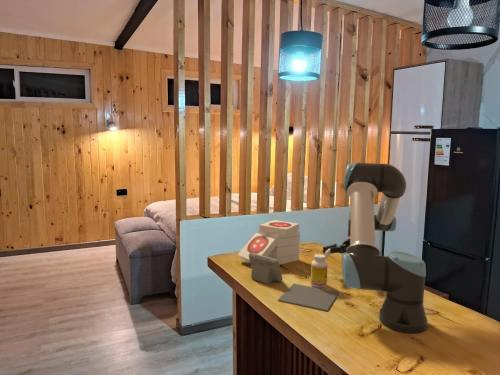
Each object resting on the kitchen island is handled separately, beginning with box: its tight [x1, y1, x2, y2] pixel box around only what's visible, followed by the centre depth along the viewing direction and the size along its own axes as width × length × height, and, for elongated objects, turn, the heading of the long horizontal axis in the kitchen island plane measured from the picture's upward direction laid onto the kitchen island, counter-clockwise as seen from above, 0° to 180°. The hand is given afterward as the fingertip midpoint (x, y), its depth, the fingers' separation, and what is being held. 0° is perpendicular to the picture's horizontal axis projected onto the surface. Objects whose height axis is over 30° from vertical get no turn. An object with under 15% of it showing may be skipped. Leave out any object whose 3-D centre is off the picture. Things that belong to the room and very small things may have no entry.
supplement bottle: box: [310, 253, 328, 289], centre depth 158 cm, size 7×7×13 cm
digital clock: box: [249, 253, 283, 285], centre depth 164 cm, size 16×9×11 cm, turn 39°
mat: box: [277, 283, 340, 312], centre depth 146 cm, size 18×19×1 cm
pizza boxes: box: [237, 219, 301, 266], centre depth 188 cm, size 19×30×18 cm, turn 127°
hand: (341, 258), depth 160 cm, fingers open, 13 cm apart
